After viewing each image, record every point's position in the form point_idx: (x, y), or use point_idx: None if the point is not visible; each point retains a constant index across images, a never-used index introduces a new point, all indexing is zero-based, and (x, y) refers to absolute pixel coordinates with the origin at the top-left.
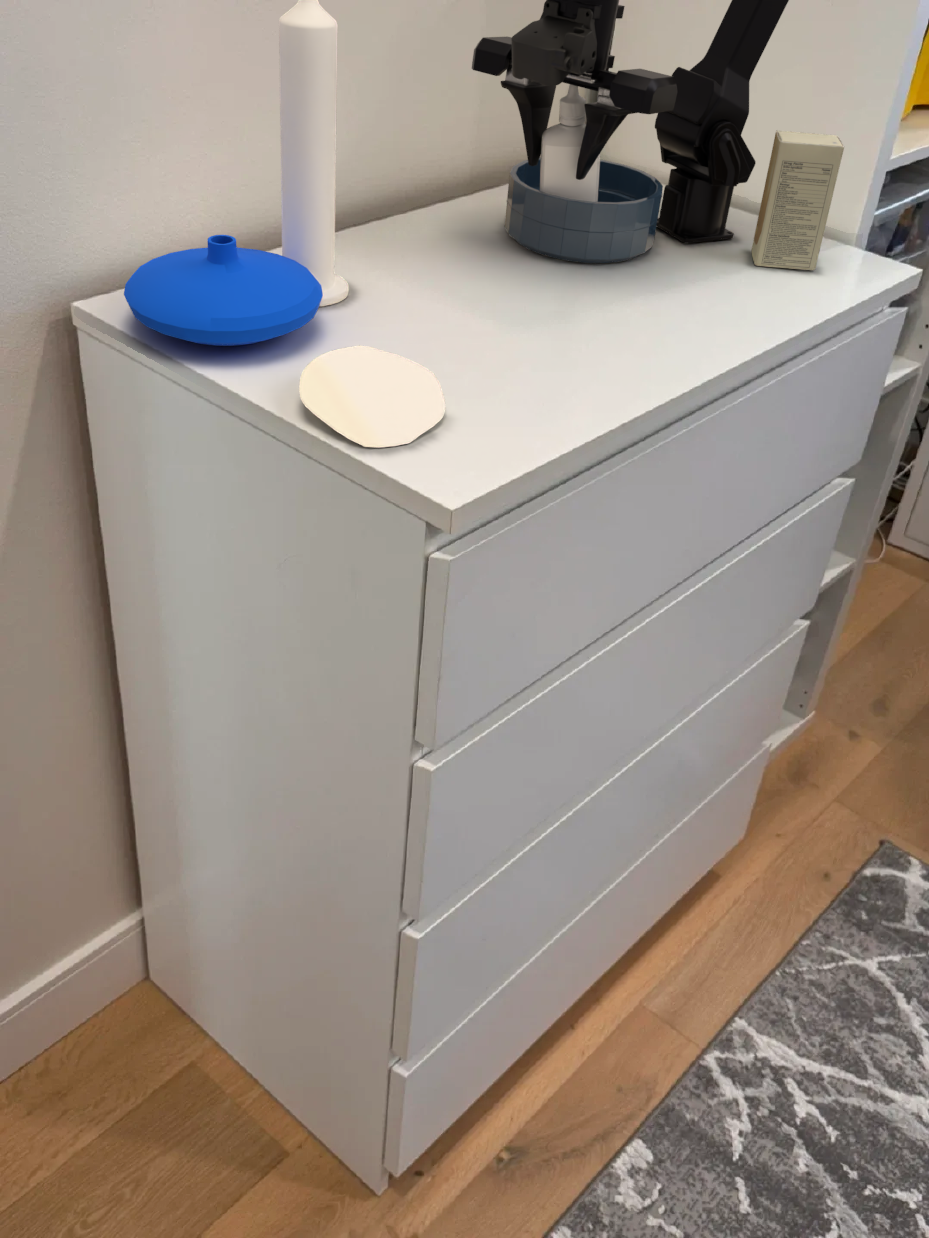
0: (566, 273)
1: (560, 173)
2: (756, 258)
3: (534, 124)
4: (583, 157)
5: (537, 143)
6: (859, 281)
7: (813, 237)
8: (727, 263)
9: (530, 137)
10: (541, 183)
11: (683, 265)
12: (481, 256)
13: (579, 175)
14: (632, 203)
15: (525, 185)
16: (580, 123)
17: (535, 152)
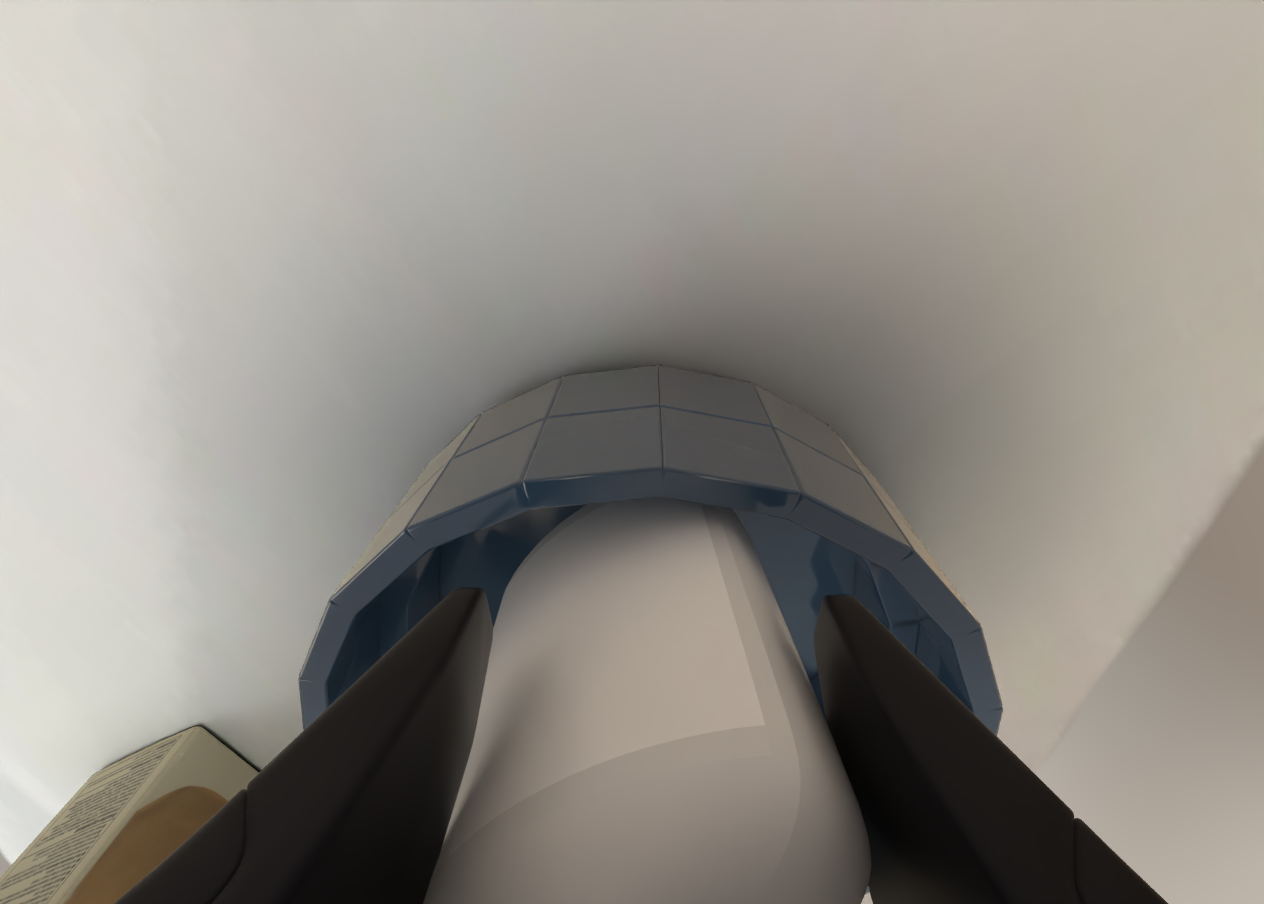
0: (484, 291)
1: (620, 612)
2: (186, 742)
3: (974, 895)
4: (374, 695)
5: (865, 749)
6: (9, 786)
7: (29, 856)
8: (253, 699)
9: (934, 746)
10: (733, 549)
11: (306, 617)
12: (836, 189)
13: (450, 603)
14: (306, 656)
15: (824, 521)
16: None
17: (843, 677)
